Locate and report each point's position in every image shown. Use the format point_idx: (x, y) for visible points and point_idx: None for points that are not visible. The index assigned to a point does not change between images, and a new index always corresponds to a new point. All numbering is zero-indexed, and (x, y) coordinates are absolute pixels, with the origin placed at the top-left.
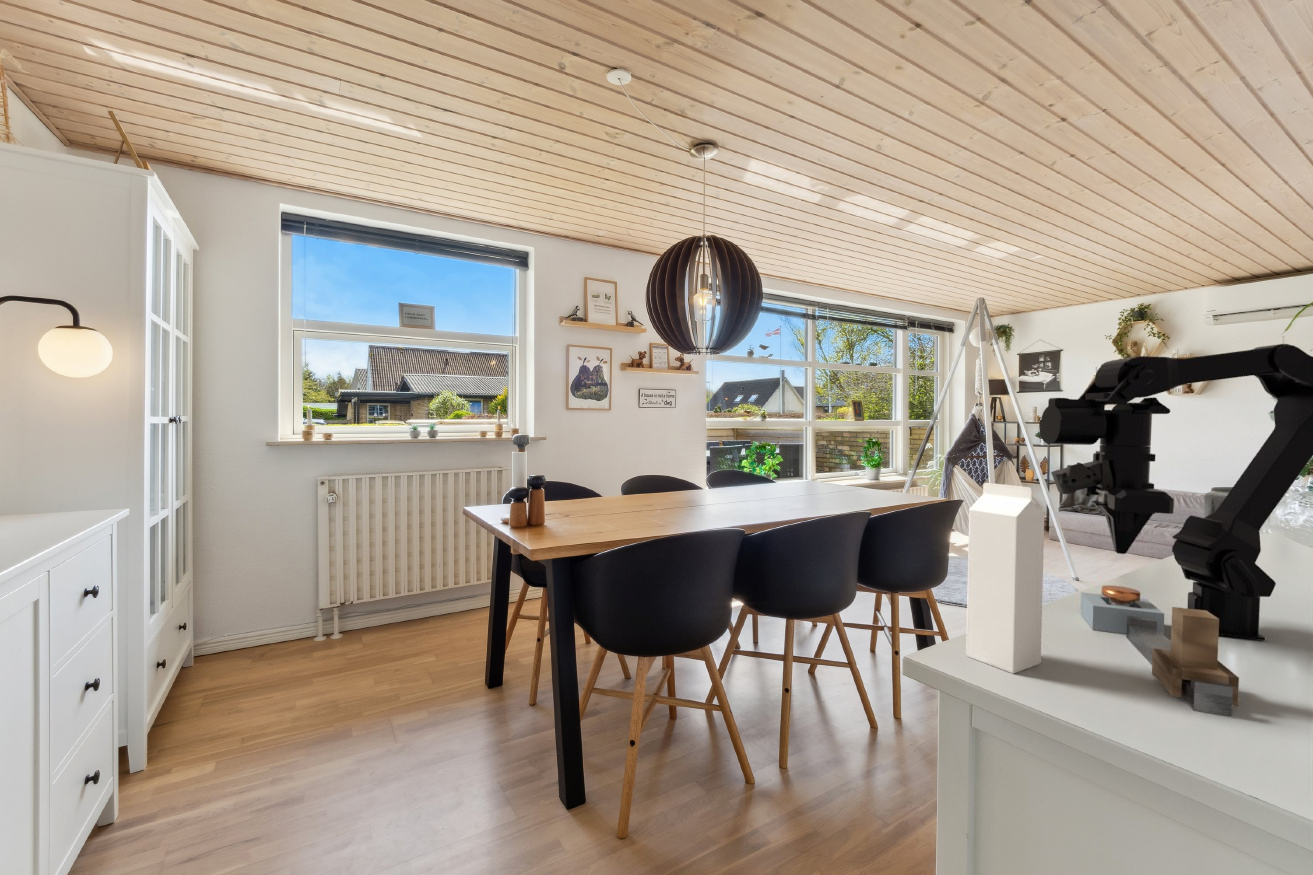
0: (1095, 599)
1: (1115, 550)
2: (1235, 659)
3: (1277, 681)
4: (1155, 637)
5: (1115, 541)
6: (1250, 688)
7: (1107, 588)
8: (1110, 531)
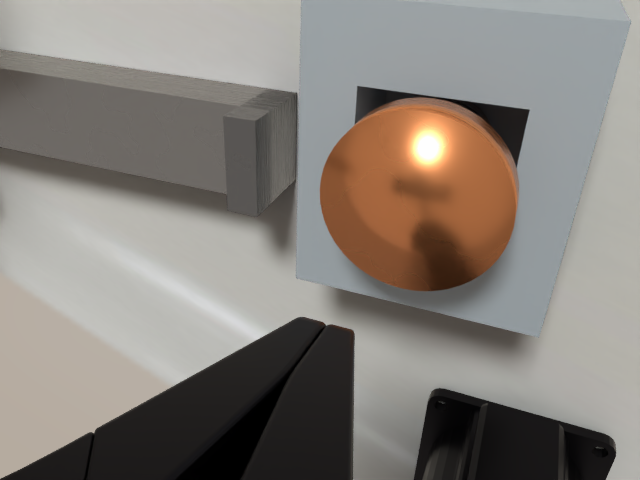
0: (451, 56)
1: (316, 327)
2: (221, 320)
3: (107, 313)
4: (131, 138)
5: (209, 366)
6: (28, 227)
7: (418, 139)
8: (296, 472)
